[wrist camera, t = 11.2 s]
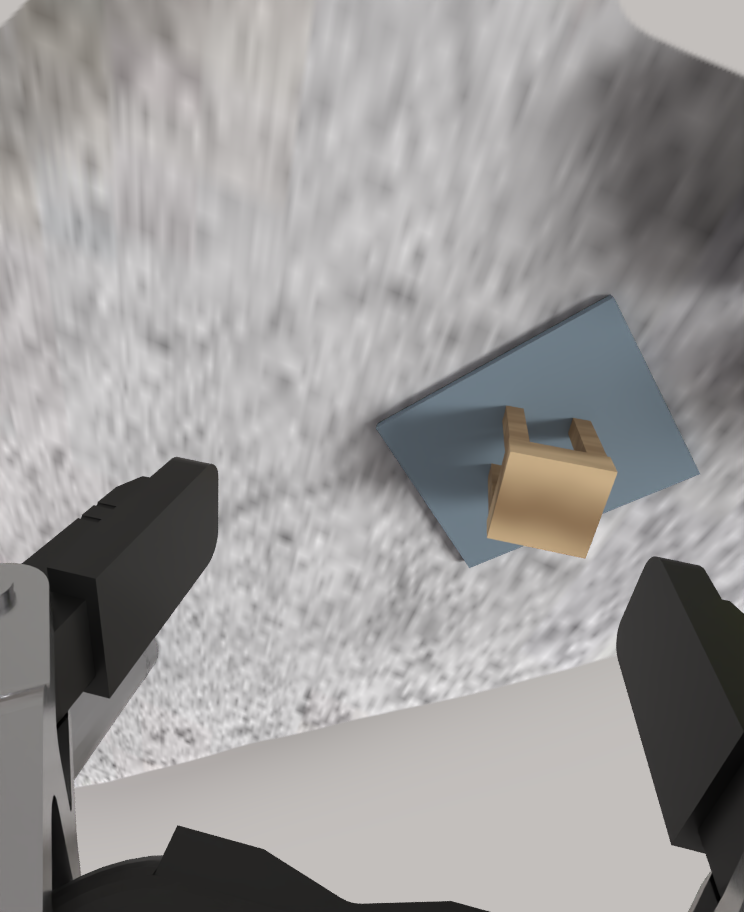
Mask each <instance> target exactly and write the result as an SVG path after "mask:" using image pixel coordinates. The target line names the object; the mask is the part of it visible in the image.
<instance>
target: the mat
mask: <svg viewBox="0 0 744 912" xmlns="http://www.w3.org/2000/svg"><path fill="white" fill-rule="evenodd" d="M506 405H507V406H512V407H518V408H523V409H524V413H525V419H526V424H527V429H528V435H529V440H530V442H534V443H539V444H544V445H549V446H555V447H560V448H565V449H570V450H574V449H573V446H572V443H571V440H570V437H569V435H568V432H569V429H570V426H571V423H572V420H573V418H577V419H582V420H588V421H591V423H592V425H593V427H594V429H595V431H596V433H597V435H598V438H599V440H600V442H601V444H602V446H603V448H604V450H605V453H606V455H607V457H611V459H612V461H613V464H614V466H615V468H616V470H617V472H618V473H617V476H616V478H615V481H614V484H613V486H612V489H611V492H610V494H609V497H608V500H607V502H606V505H605V508H604V510H603V513H606V512H608V511H610V510H613V509H615V508H618V507H620V506H623V505H625V504H628V503H630V502H633V501H635V500H637V499H640V498H642V497H645V496H647V495H650V494H652V493H655V492H657V491H660V490H662V489H664V488H667V487H669V486H672V485H674V484H677V483H679V482H682V481H684V480H687V479H689V478H691V477H694V476H696V475H699V474H700V473H699V471H698V469H697V467H696V465H695V463H694V461H693V458H692V456H691V454H690V452H689V450H688V448H687V446H686V444H685V442H684V440H683V438H682V436H681V434H680V432H679V430H678V428H677V426H676V424H675V422H674V420H673V418H672V416H671V413H670V411H669V409H668V407H667V405H666V403H665V401H664V399H663V397H662V395H661V393H660V391H659V389H658V387H657V385H656V383H655V381H654V379H653V377H652V375H651V373H650V371H649V368H648V366H647V364H646V362H645V360H644V358H643V356H642V354H641V352H640V350H639V348H638V346H637V344H636V342H635V340H634V338H633V336H632V334H631V332H630V330H629V328H628V326H627V323H626V321H625V319H624V317H623V315H622V313H621V311H620V309H619V307H618V305H617V303H616V301H615V299H614V297H613V296H611V295H609V296H607V297H605V298H604V299H602V300H600V301H598V302H596V303H595V304H593V305H591V306H589V307H587V308H586V309H584V310H582V311H580V312H578V313H577V314H575V315H573V316H571V317H569V318H568V319H566V320H564V321H562V322H560V323H558V324H557V325H555V326H553V327H551V328H549V329H548V330H546V331H544V332H542V333H540V334H539V335H537V336H535V337H533V338H531V339H530V340H528V341H526V342H524V343H522V344H521V345H519V346H517V347H515V348H513V349H512V350H510V351H508V352H506V353H504V354H502V355H501V356H499V357H497V358H495V359H493V360H492V361H490V362H488V363H486V364H484V365H483V366H481V367H479V368H477V369H475V370H474V371H472V372H470V373H468V374H466V375H465V376H463V377H461V378H459V379H457V380H456V381H454V382H452V383H450V384H448V385H446V386H445V387H443V388H441V389H439V390H437V391H436V392H434V393H432V394H430V395H428V396H427V397H425V398H423V399H421V400H419V401H418V402H416V403H414V404H412V405H410V406H409V407H407V408H405V409H403V410H401V411H400V412H398V413H396V414H394V415H392V416H390V417H389V418H387V419H385V420H383V421H381V422H380V423H378V425H377V427H376V429H377V431H378V432H379V434H380V435H381V437H382V438H383V440H384V441H385V443H386V444H387V446H388V447H389V449H390V450H391V452H392V453H393V455H394V456H395V458H396V459H397V461H398V462H399V464H400V465H401V467H402V468H403V470H404V471H405V473H406V474H407V476H408V477H409V479H410V480H411V481H412V483H413V484H414V486H415V487H416V489H417V490H418V492H419V493H420V495H421V496H422V498H423V499H424V501H425V502H426V504H427V505H428V507H429V508H430V510H431V511H432V513H433V514H434V516H435V517H436V519H437V520H438V522H439V523H440V525H441V526H442V528H443V529H444V531H445V532H446V534H447V535H448V537H449V538H450V540H451V541H452V543H453V544H454V546H455V547H456V549H457V550H458V552H459V553H460V555H461V556H462V558H463V559H464V561H465V562H466V564H467V565H468V567H469V568H471V567H473V566H476V565H478V564H480V563H483V562H485V561H488V560H490V559H493V558H495V557H498V556H500V555H503V554H505V553H507V552H510V551H512V550H515V549H517V548H520V547H522V546H523V545H518V544H514V543H509V542H504V541H499V540H495V539H490V538H487V518H488V475H489V471H490V467H491V463H492V464H497V465H502V462H503V458H504V454H505V447H504V435H503V423H502V420H503V417H504V413H505V409H506ZM603 513H602V514H603Z"/></svg>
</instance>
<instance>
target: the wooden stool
mask: <svg viewBox="0 0 744 912" xmlns="http://www.w3.org/2000/svg"><path fill="white" fill-rule="evenodd" d="M502 423H503V435H504V447H505V454H504V458H503V462H502V465H497V464H492V463H491V467H490V471H489V475H488V518H487V538H490V539H495V540H499V541H504V542H509V543H514V544H518V545H523V546H528V547H533V548H537V549H542V550H547V551H552V552H556V553H561V554H566V555H571V556H575V557H580V558H586V556H587V553H588V550H589V548H590V545H591V542H592V540H593V537H594V534H595V532H596V529H597V526H598V524H599V521H600V518H601V516H602V513H603V510H604V508H605V505H606V502H607V500H608V497H609V494H610V492H611V489H612V486H613V484H614V481H615V478H616V476H617V473H618V472H617V470H616V468H615V466H614V464H613V461H612V459H611V457H607V455H606V453H605V450H604V448H603V446H602V444H601V442H600V440H599V438H598V435H597V433H596V431H595V429H594V427H593V425H592V423H591V421H588V420H582V419H577V418H573V420H572V423H571V426H570V429H569V432H568V435H569V437H570V440H571V443H572V446H573V449H574V450H570V449H565V448H560V447H555V446H549V445H544V444H539V443H534V442H530V440H529V435H528V429H527V424H526V419H525V413H524V409H523V408H518V407H512V406H507V405H506V409H505V413H504V417H503V420H502Z"/></svg>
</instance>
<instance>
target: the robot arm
mask: <svg viewBox="0 0 744 912" xmlns="http://www.w3.org/2000/svg"><path fill="white" fill-rule="evenodd" d="M217 537H218V471H217V468H216V466H215V465H213V464H209V463H204V462H199V461H194V460H189V459H185V458H180V457H174V458H172V459H171V460H170V461H169V462H167V463H166V464H165V465H164V466H163V467H162V468H160V469H159V470H158V471H157V472H156V473H155V474H154V475H152V476H151V477H150V478H149V477H144V476H142V477H140V478H137V479H135V480H132V481H130V482H127V483H125V484H123V485H120V486H118V487H116V488H115V489H113V490H112V491H111V492H110V493H108V494H107V495H106V496H105V497H103V498H102V499H101V500H100V501H99V502H98V504H97V506H95V505H94V506H92V507H91V508H90V509H89V510H87V511H86V512H85V513H84V514H83V515H82V517H81V519H79V518H78V519H76V520H75V521H74V522H73V523H71V524H70V525H69V526H68V527H67V528H65V529H64V530H63V531H62V532H60V533H59V534H58V535H57V536H55V537H54V538H53V539H52V540H51V541H49V542H48V543H47V544H46V545H44V546H43V547H42V548H41V549H39V550H38V551H37V552H36V553H34V554H33V555H32V556H31V557H30V558H28V559H27V560H26V561H25V562H23V563H22V564H18V563H1V564H0V912H489V911H485V910H481V909H478V908H474V907H470V906H467V905H463V904H460V903H456V902H452V901H442V902H408V903H407V902H406V903H373V904H357V903H351V902H348V901H346V900H344V899H342V898H340V897H338V896H337V895H335V894H334V893H332V892H331V891H329V890H327V889H326V888H324V887H323V886H321V885H319V884H318V883H316V882H315V881H313V880H312V879H310V878H308V877H307V876H305V875H303V874H302V873H300V872H299V871H297V870H296V869H294V868H293V867H291V866H289V865H287V864H286V863H284V862H283V861H281V860H280V859H278V858H277V857H275V856H273V855H272V854H270V853H269V852H267V851H266V850H264V849H261V848H257V847H254V846H250V845H247V844H243V843H239V842H236V841H232V840H228V839H225V838H221V837H217V836H214V835H210V834H207V833H203V832H199V831H195V830H192V829H189V828H185V827H181V826H177V828H176V830H175V832H174V834H173V836H172V838H171V841H170V842H169V844H168V847H167V848H166V851H165V853H164V855H163V856H162V855H161V856H148V857H142V858H136V859H129V860H125V861H122V862H118V863H115V864H111V865H108V866H105V867H102V868H99V869H97V870H94V871H92V872H90V873H87V874H85V875H82V876H81V871H80V863H79V862H80V861H79V853H78V844H77V833H76V815H75V792H74V780H75V778H76V777H77V775H78V774H79V772H80V771H81V770H82V768H83V767H84V765H85V764H86V762H87V761H88V759H89V758H90V757H91V755H92V754H93V752H94V751H95V749H96V748H97V746H98V745H99V744H100V742H101V741H102V739H103V738H104V736H105V735H106V733H107V732H108V731H109V729H110V728H111V726H112V725H113V723H114V722H115V720H116V719H117V717H118V716H119V715H120V713H121V712H122V710H123V709H124V707H125V706H126V704H127V703H128V702H129V700H130V699H131V697H132V696H133V694H134V693H135V692H136V690H137V689H138V687H139V686H140V684H141V683H142V682H143V680H144V679H145V678H146V677H147V675H148V673H149V671H150V670H151V669H152V667H153V666H154V664H155V663H156V660H157V658H158V647H157V643H156V640H155V636H156V635H157V634H158V632H159V631H160V629H161V628H162V627H163V625H164V624H165V623H166V621H167V620H168V619H169V617H170V616H171V614H172V613H173V612H174V610H175V609H176V608H177V606H178V605H179V604H180V602H181V601H182V599H183V598H184V597H185V595H186V594H187V593H188V591H189V590H190V589H191V587H192V586H193V584H194V583H195V582H196V580H197V579H198V578H199V576H200V575H201V574H202V572H203V571H204V569H205V568H206V567H207V565H208V564H209V562H210V560H211V558H212V556H213V553H214V550H215V547H216V543H217ZM616 649H617V657H618V661H619V665H620V668H621V671H622V675H623V678H624V682H625V686H626V689H627V692H628V696H629V699H630V703H631V706H632V710H633V713H634V717H635V720H636V724H637V727H638V731H639V734H640V738H641V741H642V745H643V748H644V751H645V755H646V758H647V762H648V766H649V768H650V772H651V776H652V779H653V783H654V786H655V790H656V793H657V797H658V800H659V804H660V807H661V811H662V814H663V818H664V821H665V825H666V828H667V832H668V835H669V839H670V842H671V845H674V846H678V847H682V848H686V849H689V850H694V851H697V852H701V853H705V854H706V856H707V859H708V862H709V865H710V868H711V872H710V873H709V874H708V876H707V877H706V878H705V880H704V881H703V883H702V884H701V886H700V889H699V890H698V892H697V894H696V897H695V899H694V901H693V903H692V905H691V907H690V909H689V911H688V912H744V614H743V613H742V612H741V611H740V610H739V609H738V608H737V607H736V606H735V605H734V604H732V603H731V602H730V601H727V600H722V599H721V597H720V595H719V594H718V592H717V590H716V588H715V587H714V585H713V583H712V582H711V580H710V578H709V576H708V575H707V573H706V571H705V570H704V568H702V567H701V566H699V565H695V564H690V563H685V562H680V561H675V560H670V559H665V558H661V557H652V558H650V559H649V560H648V562H647V563H646V565H645V567H644V569H643V571H642V573H641V576H640V578H639V580H638V582H637V585H636V587H635V589H634V592H633V594H632V596H631V599H630V601H629V603H628V605H627V608H626V610H625V612H624V615H623V617H622V619H621V622H620V625H619V628H618V633H617V642H616Z"/></svg>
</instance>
